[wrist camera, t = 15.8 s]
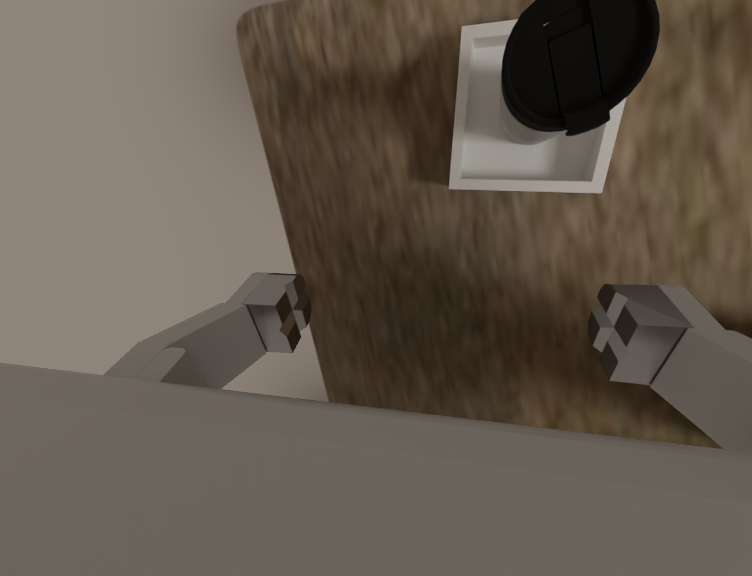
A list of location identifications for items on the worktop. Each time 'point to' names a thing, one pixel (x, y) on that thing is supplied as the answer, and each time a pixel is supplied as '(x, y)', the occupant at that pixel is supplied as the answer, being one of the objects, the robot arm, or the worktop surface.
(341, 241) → the worktop surface
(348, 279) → the worktop surface
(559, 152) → the tray
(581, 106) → the travel mug
